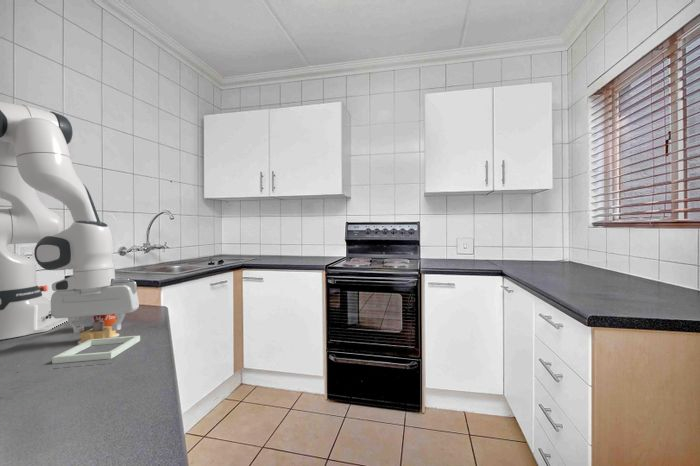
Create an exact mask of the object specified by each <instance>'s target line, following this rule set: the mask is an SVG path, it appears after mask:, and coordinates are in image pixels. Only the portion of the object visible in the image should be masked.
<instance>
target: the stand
mask: <svg viewBox="0 0 700 466" xmlns="http://www.w3.org/2000/svg"><path fill="white" fill-rule="evenodd" d="M92 328H93V332H94V331H102V330H104V321H98V322H92ZM114 337H120V333H118V332H116V335H114V336H112V337H110V338H114ZM83 343H84V342H83ZM79 344H82V343H81V339H80V340H79V341H77V345H79Z"/></svg>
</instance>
